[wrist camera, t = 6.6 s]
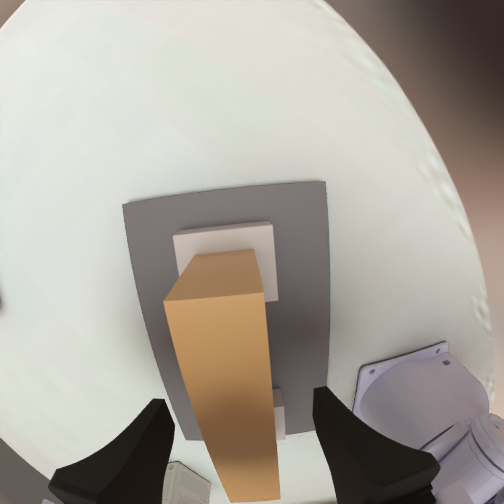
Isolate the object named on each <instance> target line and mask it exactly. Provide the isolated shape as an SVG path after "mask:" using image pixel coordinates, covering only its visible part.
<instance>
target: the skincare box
mask: <svg viewBox="0 0 504 504" xmlns="http://www.w3.org/2000/svg"><path fill="white" fill-rule="evenodd" d="M209 496H210V482H208V481H206V480H205V479H203V478H202V477H200V476H198V475H197V474H195V473H194V472H192V471H191V470H189V469H188V468H186V467H185V466H184V465H182V464H181V463H179V462H174V463H168V465H167V469H166V473H165V478H164V485H163V495H162V504H209Z"/></svg>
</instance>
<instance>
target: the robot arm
mask: <svg viewBox="0 0 504 504" xmlns="http://www.w3.org/2000/svg"><path fill="white" fill-rule="evenodd" d="M448 348H449V344H448V343H447V342H443V343H440V344H438V345H435V346H432V347H429V348H426V349H423V350H420V351H417V352H414V353H411V354H408V355H404V356H401V357H398V358H394V359H391V360H387V361H383V362H380V363H376V364H372V365H368V366H365V367H363V368H362V369H361V370H360V373H359V380H358V386H357V392H356V398H355V403H354V409H353V413H352V412H351V411H350V410H349V409H348V408H347V407H346V406H345V405H344V404H343V403H342V402H341V401H340V400H339V399H338V398H337V397H336V396H335V395H334V394H333V392H332V391H331V390H330V389H329V388H328V387H327V386H323V387H318V388H314V392H313V412H312V416H313V421H314V425H315V430H316V433H317V436H318V439H319V441H320V444H321V447H322V449H323V452H324V455H325V457H326V460H327V463H328V465H329V468H330V471H331V475H332V480H333V484H334V488H335V493H336V498H337V502H338V504H504V420H503V419H502V418H500V417H499V416H497V415H494V414H492V413H489V400H488V396H487V393H486V390H485V388H484V387H483V385H482V384H481V383H480V382H479V381H478V380H477V379H476V378H475V377H474V376H473V375H472V374H471V373H470V372H469V371H468V370H467V369H466V368H465V367H463V366H462V365H461V364H460V363H459V362H458V361H457V360H456V359H455V358H454V357H452V356H451V355H450V354H449V353H448ZM372 369H373V370H372ZM371 370H372V371H371ZM174 431H175V424H174V422H173V419H172V417H171V414H170V412H169V409H168V407H167V404H166V402H165V399H152V400H151V401H150V403H149V404H148V405H147V406H146V407H145V408H144V409H143V411H142V412H141V413H140V414H139V415H138V416H137V417H136V418H135V419H134V421H133V422H132V423H131V424H130V425H129V426H128V427H127V428H126V429H125V430H124V431H123V432H122V433H121V434H119V435H118V436H117V437H116V438H115V439H114V440H113V441H111V442H110V443H109V444H107V445H106V446H105V447H103V448H102V449H100V450H99V451H97V452H95V453H94V454H92V455H90V456H89V457H87V458H85V459H83V460H81V461H78V462H76V463H74V464H71V465H68V466H65V467H62V468H59V469H56V471H55V473H54V475H53V477H52V479H51V481H50V483H49V485H48V488H49V490H50V491H51V492H52V493H53V494H54V495H55V496H56V497H57V498H59V499H60V500H61V501H62V502H63V503H64V504H162V495H163V485H164V478H165V473H166V469H167V465H168V461H169V457H170V453H171V449H172V445H173V440H174ZM42 504H54V503H52V502H50V501H48V500H46V499H44V500H43V502H42Z"/></svg>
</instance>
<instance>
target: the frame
mask: <svg viewBox="0 0 504 504" xmlns="http://www.w3.org/2000/svg"><path fill="white" fill-rule="evenodd" d="M163 303H164V308H165V312H166V316H167V321H168V325H169V329H170V333H171V337H172V341H173V345H174V348H175V352H176V356H177V359H178V363H179V366H180V370H181V373H182V377H183V380H184V383H185V387H186V390H187V393H188V396H189V399H190V402H191V405H192V408H193V411H194V414H195V417H196V420H197V423H198V425H199V428H200V431H201V434H202V436H203V439H204V442H205V444H206V447H207V449H208V452H209V454H210V457H211V459H212V462H213V464H214V467H215V469H216V471H217V474H218V476H219V478H220V481H221V483H222V485H223V487H224V489H225V492H226V494H227V496H228V498H229V500H230V502H231V503H232V502H256V501H268V500H278V499H281V498H280V484H279V470H278V457H277V443H276V430H275V418H274V405H273V393H272V381H271V369H270V357H269V345H268V334H267V322H266V311H265V300H264V291H263V286H262V282H261V277H260V273H259V268H258V264H257V260H256V255H255V251H254V249H246V250H237V251H227V252H217V253H208V254H199V255H194V257H193V258H192V259H191V261H190V262H189V264H188V265H187V267H186V268H185V270H184V271H183V272H182V274H181V275H180V277H179V278H178V280H177V281H176V283H175V284H174V286H173V287H172V289H171V290H170V292H169V293H168V295H167V296H166V298H165V299H164V301H163Z"/></svg>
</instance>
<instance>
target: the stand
mask: <svg viewBox="0 0 504 504" xmlns="http://www.w3.org/2000/svg"><path fill="white" fill-rule="evenodd" d="M122 207H123V215H124V222H125V229H126V235H127V242H128V248H129V253H130V259H131V264H132V269H133V274H134V279H135V283H136V288H137V292H138V297H139V301H140V305H141V309H142V313H143V317H144V321H145V325H146V328H147V332H148V336H149V339H150V343H151V346H152V349H153V353H154V356H155V359H156V362H157V365H158V368H159V371H160V374H161V377H162V380H163V383H164V386H165V389H166V392H167V394H168V397H169V400H170V402H171V405H172V408H173V410H174V413H175V415H176V418H177V420H178V423H179V425H180V427H181V430H182V432H183V435H184V437H185V439H186V440H201V441H204V439H203V436H202V434H201V431H200V428H199V425H198V423H197V420H196V417H195V414H194V411H193V408H192V405H191V402H190V399H189V396H188V393H187V390H186V387H185V383H184V380H183V377H182V373H181V370H180V366H179V363H178V359H177V356H176V352H175V348H174V345H173V341H172V337H171V333H170V329H169V325H168V321H167V316H166V312H165V308H164V303H163V301H164V299H165V298H166V296H167V295H168V293H169V292H170V290H171V289H172V287H173V286H174V284H175V283H176V281H177V280H178V278H179V277H180V275H181V274H182V272H183V271H184V270H185V268H186V267H187V265H188V264H189V262H190V261H191V259H192V258H193V257H194V255H199V254H208V253H217V252H227V251H237V250H246V249H254V251H255V255H256V260H257V264H258V268H259V273H260V277H261V282H262V286H263V291H264V300H265V311H266V322H267V334H268V345H269V357H270V369H271V381H272V393H273V405H274V418H275V430H276V440H283V439H285V435H289V434H296V433H302V432H308V431H314V430H315V425H314V421H313V416H312V412H313V392H314V388H318V387H323V386H327V373H328V356H329V332H330V251H329V226H328V208H327V193H326V181H322V182H304V183H289V184H275V185H263V186H252V187H242V188H232V189H223V190H214V191H206V192H198V193H190V194H183V195H176V196H169V197H162V198H156V199H150V200H144V201H138V202H132V203H126V204H122Z"/></svg>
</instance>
